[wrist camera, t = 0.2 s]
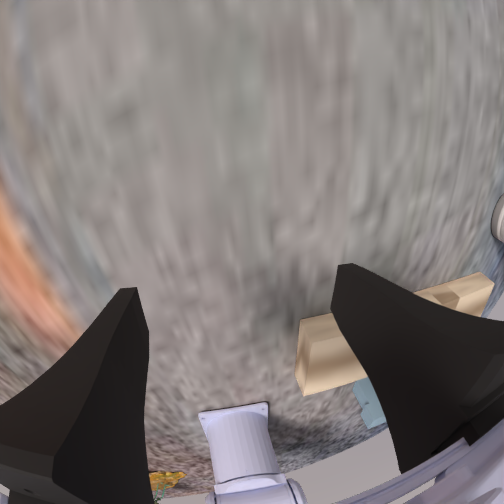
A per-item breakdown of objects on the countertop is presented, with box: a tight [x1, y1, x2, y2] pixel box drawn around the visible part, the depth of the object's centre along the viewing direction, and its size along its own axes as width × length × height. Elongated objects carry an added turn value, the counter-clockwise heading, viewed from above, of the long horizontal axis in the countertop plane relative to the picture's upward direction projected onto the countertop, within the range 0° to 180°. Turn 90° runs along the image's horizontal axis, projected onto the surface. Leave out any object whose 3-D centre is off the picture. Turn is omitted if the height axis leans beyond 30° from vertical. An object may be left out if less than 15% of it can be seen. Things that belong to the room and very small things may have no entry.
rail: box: [295, 272, 494, 396], centre depth 28 cm, size 8×26×3 cm, turn 93°
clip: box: [353, 377, 387, 429], centre depth 31 cm, size 2×10×6 cm, turn 93°
